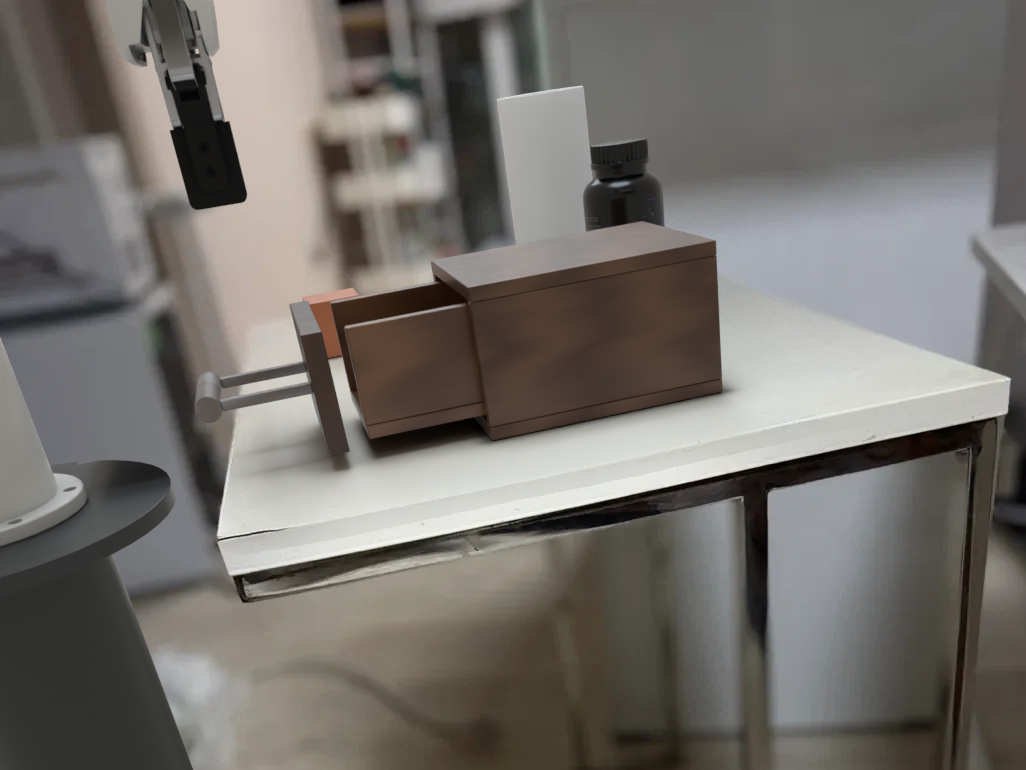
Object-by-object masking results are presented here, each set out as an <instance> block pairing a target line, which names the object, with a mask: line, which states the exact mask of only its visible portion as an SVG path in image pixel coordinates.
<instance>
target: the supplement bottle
mask: <svg viewBox="0 0 1026 770" xmlns="http://www.w3.org/2000/svg"><path fill="white" fill-rule="evenodd" d="M648 142H649V141H648V138H646V137H635V138H626V139H618V140H612V141H606V142H601V143H596V144H592V145H589V146H590V156H591V164H590V166H591V170H592V171H593V173H594V178H593V180H592V181H591V182H590V183H589V184H588V185H587V186H586V188H585V190H584V193H583V208H584V218H585V229H586V232H587V231H592V230H598V229H603V228H608V227H614V226H619V225H624V224H630V223H635V222H641V221H644V222H647V223H651V224H655V225H659V226H663V227H666V226H665V225H666V224H665V208H664V207H665V206H664V190H663V184H662V182H661V180H660V179H659V177H658V176H657V175H656V174H654V173H653V172H651V171H649V170H648V163H650V161H651V159H650V156H649V144H648Z"/></svg>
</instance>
